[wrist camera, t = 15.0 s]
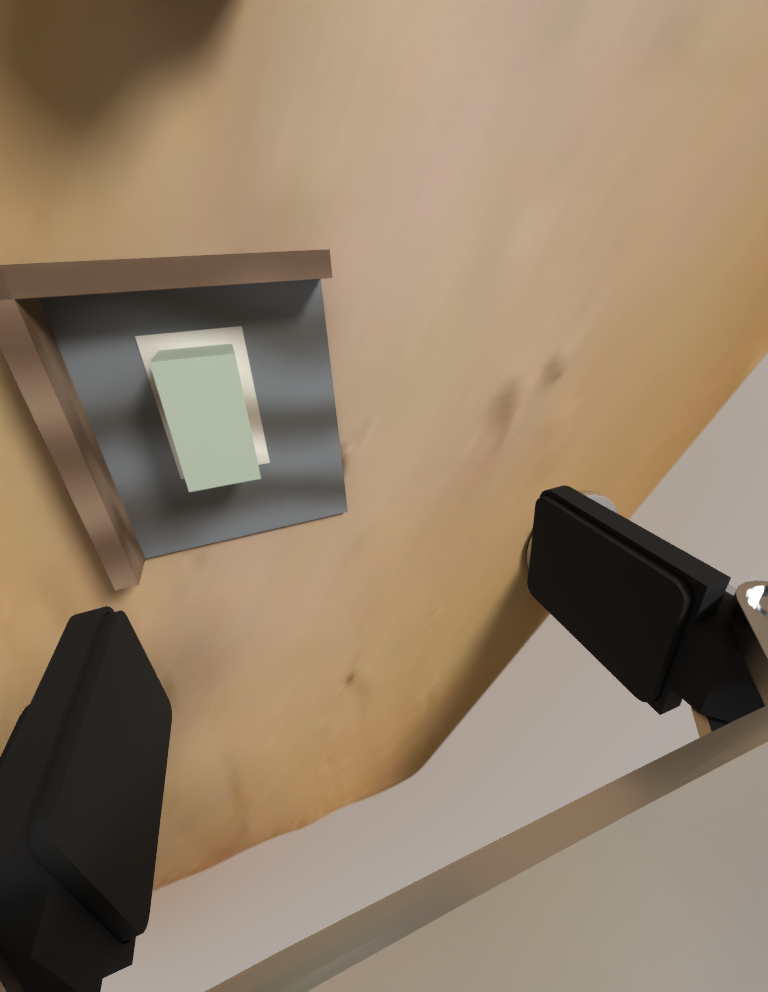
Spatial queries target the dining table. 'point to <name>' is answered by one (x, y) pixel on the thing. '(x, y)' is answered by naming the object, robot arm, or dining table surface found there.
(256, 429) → the shallow tray
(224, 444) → the sage block
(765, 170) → the dining table surface
